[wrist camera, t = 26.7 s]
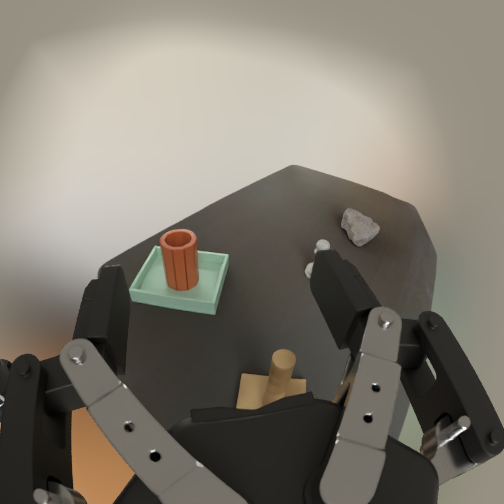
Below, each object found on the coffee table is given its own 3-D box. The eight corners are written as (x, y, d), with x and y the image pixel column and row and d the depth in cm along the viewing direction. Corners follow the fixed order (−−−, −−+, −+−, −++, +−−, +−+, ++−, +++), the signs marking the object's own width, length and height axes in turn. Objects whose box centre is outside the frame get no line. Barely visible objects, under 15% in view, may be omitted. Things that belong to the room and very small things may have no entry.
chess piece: (316, 285, 57) (325, 251, 52) (299, 271, 60) (306, 238, 55) (332, 276, 59) (341, 243, 54) (316, 263, 62) (323, 231, 57)
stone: (329, 230, 73) (334, 209, 69) (350, 223, 76) (355, 203, 73) (358, 251, 66) (364, 230, 63) (378, 242, 70) (385, 222, 66)
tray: (131, 301, 50) (128, 289, 48) (156, 256, 61) (154, 245, 59) (215, 315, 49) (214, 303, 48) (228, 265, 60) (228, 254, 58)
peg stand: (232, 433, 33) (232, 391, 26) (241, 376, 40) (245, 320, 33) (303, 439, 32) (329, 400, 25) (304, 382, 40) (325, 328, 32)
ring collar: (161, 288, 52) (154, 247, 47) (172, 267, 57) (167, 227, 52) (193, 293, 52) (190, 252, 47) (202, 271, 57) (200, 230, 51)
